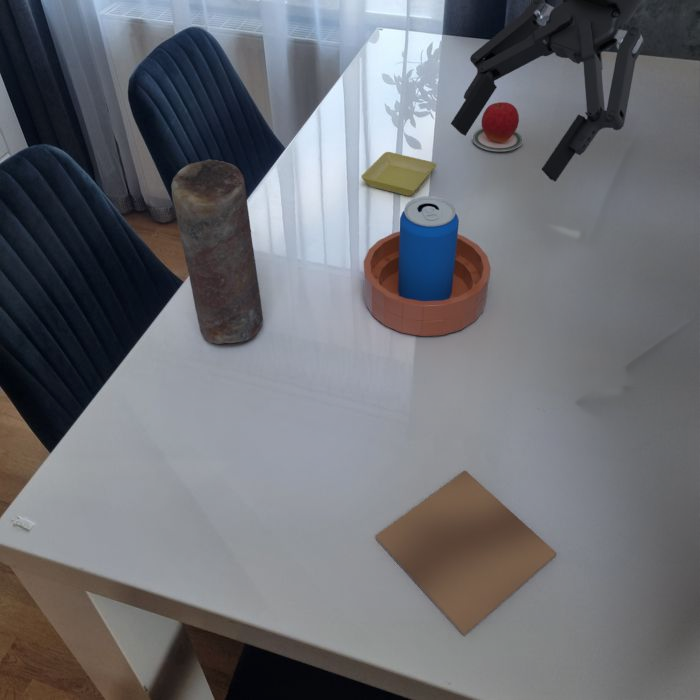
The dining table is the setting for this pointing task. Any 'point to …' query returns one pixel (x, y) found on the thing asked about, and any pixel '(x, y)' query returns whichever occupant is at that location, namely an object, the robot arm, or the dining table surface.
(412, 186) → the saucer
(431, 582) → the cork mat
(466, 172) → the dining table surface
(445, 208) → the beverage can
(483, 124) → the apple
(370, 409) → the dining table surface
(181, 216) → the stone cylinder
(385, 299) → the bowl
